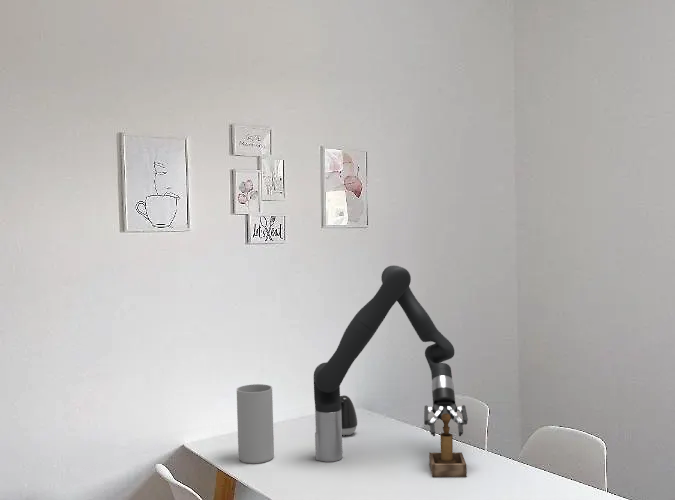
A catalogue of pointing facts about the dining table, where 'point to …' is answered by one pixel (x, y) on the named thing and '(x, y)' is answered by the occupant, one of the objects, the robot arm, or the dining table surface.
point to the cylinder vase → (255, 423)
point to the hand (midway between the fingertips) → (447, 435)
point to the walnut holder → (448, 466)
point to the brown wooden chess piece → (446, 443)
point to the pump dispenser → (348, 416)
